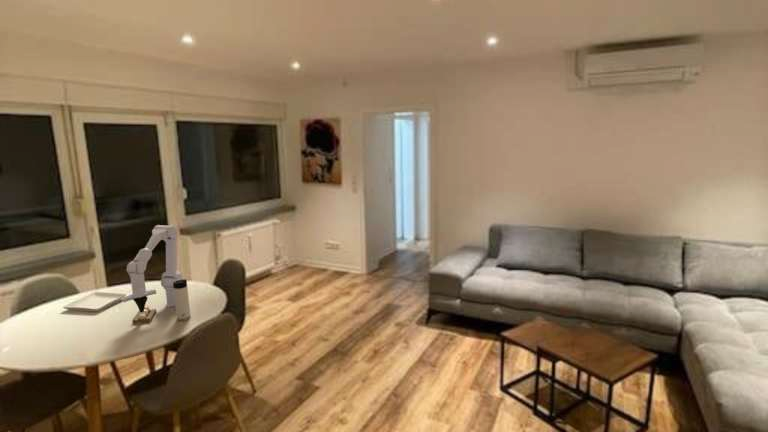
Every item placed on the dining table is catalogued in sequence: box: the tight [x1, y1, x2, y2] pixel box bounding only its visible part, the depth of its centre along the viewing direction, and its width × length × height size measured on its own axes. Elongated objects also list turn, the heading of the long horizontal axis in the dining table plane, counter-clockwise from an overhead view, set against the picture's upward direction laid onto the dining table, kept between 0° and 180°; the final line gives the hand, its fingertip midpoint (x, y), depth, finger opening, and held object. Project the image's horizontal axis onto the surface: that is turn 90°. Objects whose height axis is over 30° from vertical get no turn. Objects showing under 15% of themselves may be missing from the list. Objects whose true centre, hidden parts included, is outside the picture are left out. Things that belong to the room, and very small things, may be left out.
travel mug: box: [173, 278, 191, 322], centre depth 214 cm, size 6×7×20 cm
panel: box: [132, 308, 157, 325], centre depth 216 cm, size 8×12×2 cm, turn 16°
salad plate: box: [62, 291, 127, 312], centre depth 234 cm, size 21×21×3 cm
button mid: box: [141, 309, 148, 318], centre depth 216 cm, size 3×3×3 cm
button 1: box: [139, 314, 147, 319], centre depth 212 cm, size 3×3×3 cm
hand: (141, 311), depth 212 cm, fingers closed
